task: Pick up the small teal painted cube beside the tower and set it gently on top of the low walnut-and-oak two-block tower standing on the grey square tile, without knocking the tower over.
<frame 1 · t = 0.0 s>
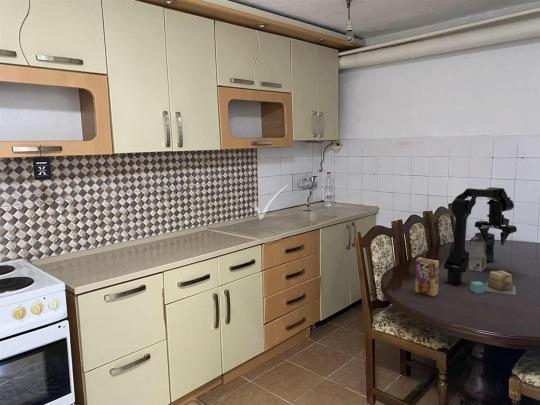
hand: (494, 243, 204), 15 cm above the table, tool pointing down, fingers open, 8 cm apart
grey square tile: (500, 288, 184), on the table
candy box: (426, 293, 182), on the table
coffee box: (477, 268, 213), on the table, touching gripper
walnut base block: (500, 288, 183), resting on grey square tile, touching oak top block
teal block: (477, 291, 182), on the table
storage jar: (483, 261, 226), on the table
oak top block: (500, 280, 183), point 4 cm above the table, touching walnut base block
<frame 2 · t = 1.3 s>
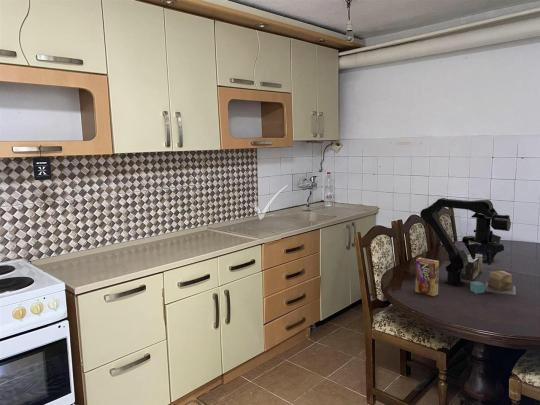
hand: (481, 262, 183), 12 cm above the table, tool pointing down, fingers open, 9 cm apart
coffee box: (475, 262, 209), point 4 cm above the table
everything else where it was.
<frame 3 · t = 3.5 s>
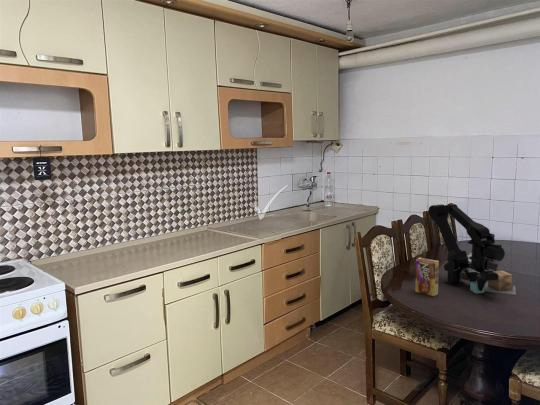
hand: (477, 289, 181), 1 cm above the table, tool pointing down, fingers closed on teal block, 4 cm apart
teal block: (477, 291, 182), on the table, touching gripper
everything else where it was.
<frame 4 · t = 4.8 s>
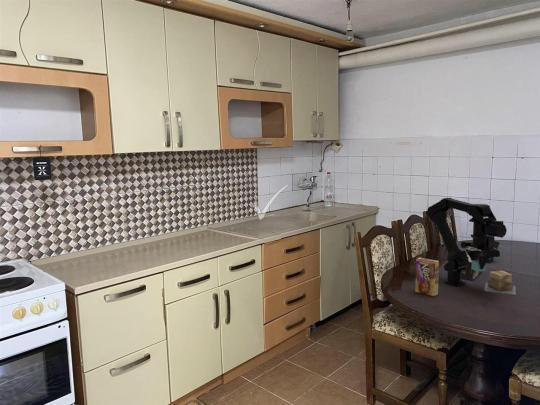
hand: (478, 267, 180), 11 cm above the table, tool pointing down, fingers closed on teal block, 4 cm apart
teal block: (478, 269, 180), point 10 cm above the table, touching gripper
everything else where it was.
when the fingers open (9 cm above the table, at t = 6.2 s): teal block stays where it is, resting on oak top block.
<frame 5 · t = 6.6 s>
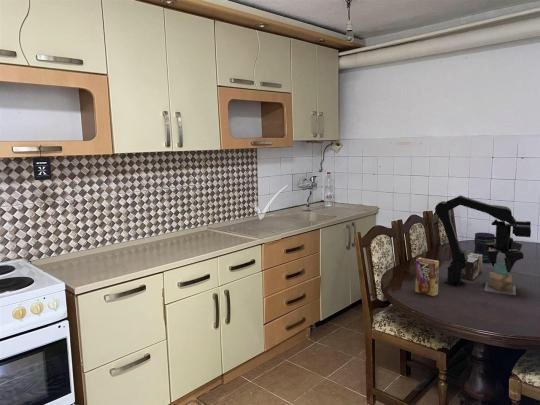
hand: (501, 269, 182), 9 cm above the table, tool pointing down, fingers open, 9 cm apart
teal block: (500, 273, 182), point 7 cm above the table, touching oak top block
oak top block: (500, 280, 183), point 4 cm above the table, touching teal block, walnut base block
everything else where it was.
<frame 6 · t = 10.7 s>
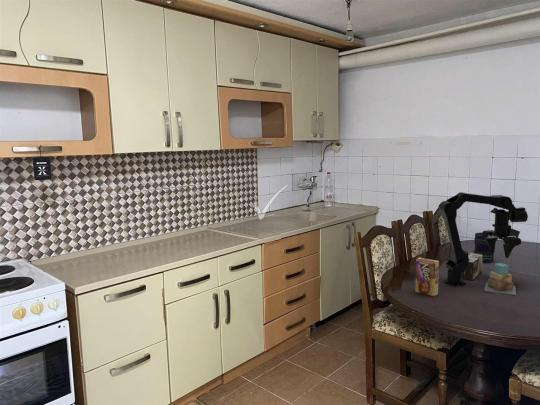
hand: (499, 255, 191), 13 cm above the table, tool pointing down, fingers open, 9 cm apart
nothing on the table moved.
at the end: teal block 0.1 cm off-centre on the oak top block, point 3.5 cm above the oak top block's base; oak top block moved 0.0 cm from its start; walnut base block moved 0.0 cm from its start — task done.
